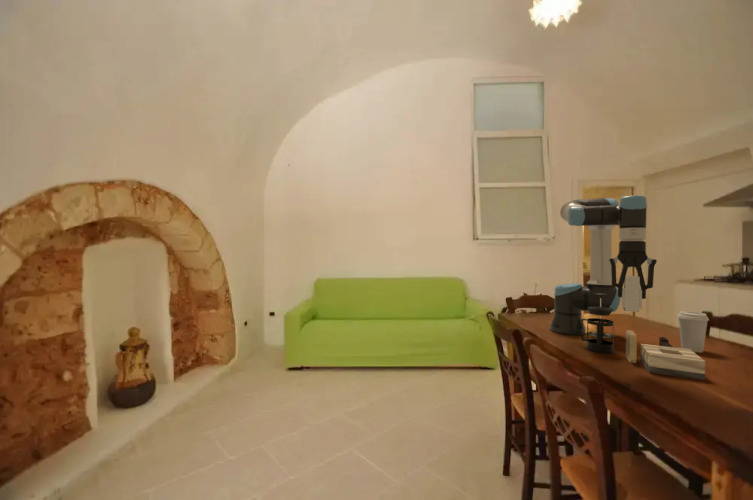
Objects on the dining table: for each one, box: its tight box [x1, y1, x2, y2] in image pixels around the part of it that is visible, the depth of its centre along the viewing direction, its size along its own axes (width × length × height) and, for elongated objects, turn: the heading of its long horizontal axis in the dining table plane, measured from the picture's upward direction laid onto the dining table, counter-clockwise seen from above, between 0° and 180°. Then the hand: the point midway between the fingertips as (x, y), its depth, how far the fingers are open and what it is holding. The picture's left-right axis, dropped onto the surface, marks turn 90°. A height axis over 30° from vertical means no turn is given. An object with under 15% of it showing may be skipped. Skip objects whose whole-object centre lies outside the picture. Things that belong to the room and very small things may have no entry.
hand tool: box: [658, 336, 676, 348], centre depth 136 cm, size 19×4×5 cm, turn 149°
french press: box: [581, 293, 615, 355], centre depth 139 cm, size 12×9×23 cm
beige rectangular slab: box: [625, 329, 638, 364], centre depth 128 cm, size 8×2×10 cm, turn 152°
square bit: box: [622, 275, 641, 313], centre depth 120 cm, size 4×4×12 cm
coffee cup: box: [676, 310, 710, 354], centre depth 139 cm, size 10×10×15 cm
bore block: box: [639, 343, 706, 381], centre depth 118 cm, size 14×14×6 cm
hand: (631, 307), depth 120 cm, fingers closed on square bit, 4 cm apart
